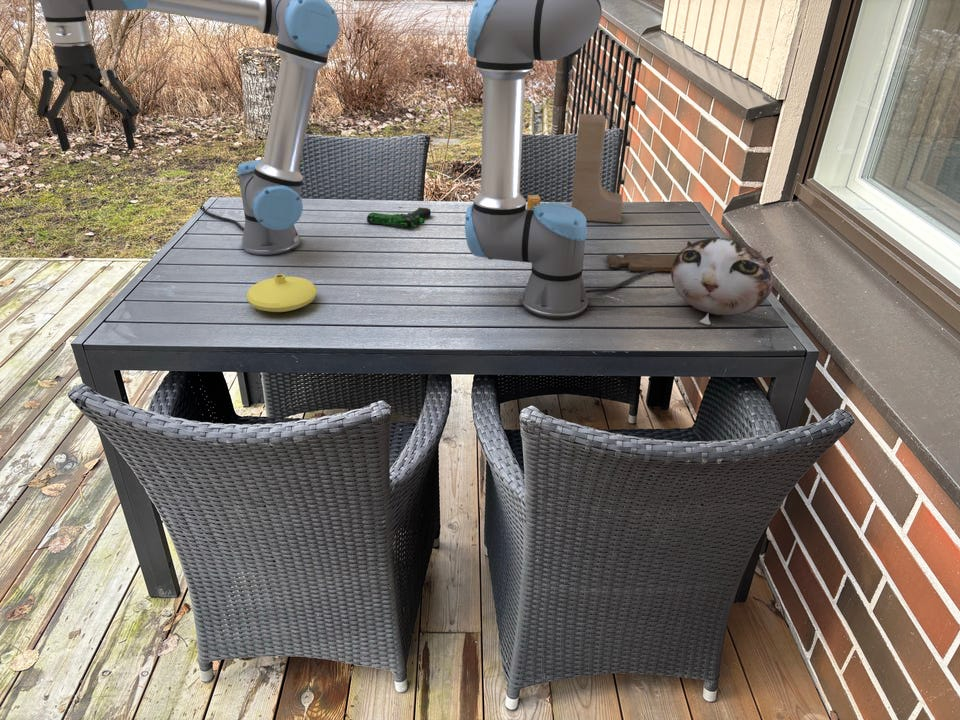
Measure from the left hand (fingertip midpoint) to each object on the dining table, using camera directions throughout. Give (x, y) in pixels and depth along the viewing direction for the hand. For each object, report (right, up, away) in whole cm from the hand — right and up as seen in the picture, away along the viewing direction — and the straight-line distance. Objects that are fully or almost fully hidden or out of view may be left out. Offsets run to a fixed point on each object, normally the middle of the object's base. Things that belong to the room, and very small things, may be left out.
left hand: (99, 149), depth 156 cm
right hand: (+99, +27, +33) cm, 108 cm away
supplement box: (+99, -8, +54) cm, 113 cm away
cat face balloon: (+138, -35, +9) cm, 142 cm away
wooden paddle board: (+130, -21, +32) cm, 136 cm away
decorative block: (+119, -3, +63) cm, 134 cm away
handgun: (+60, -4, +59) cm, 84 cm away
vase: (+38, -33, +9) cm, 51 cm away
